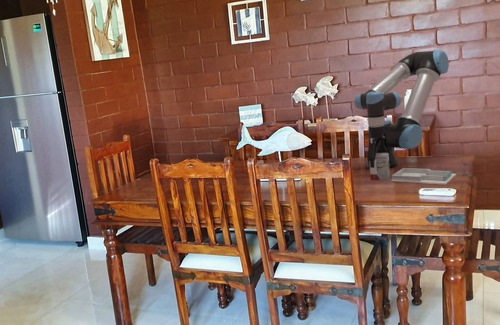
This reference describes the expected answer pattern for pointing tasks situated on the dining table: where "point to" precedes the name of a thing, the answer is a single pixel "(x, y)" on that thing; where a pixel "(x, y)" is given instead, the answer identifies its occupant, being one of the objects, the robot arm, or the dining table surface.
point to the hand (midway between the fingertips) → (379, 170)
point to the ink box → (381, 167)
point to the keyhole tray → (422, 176)
